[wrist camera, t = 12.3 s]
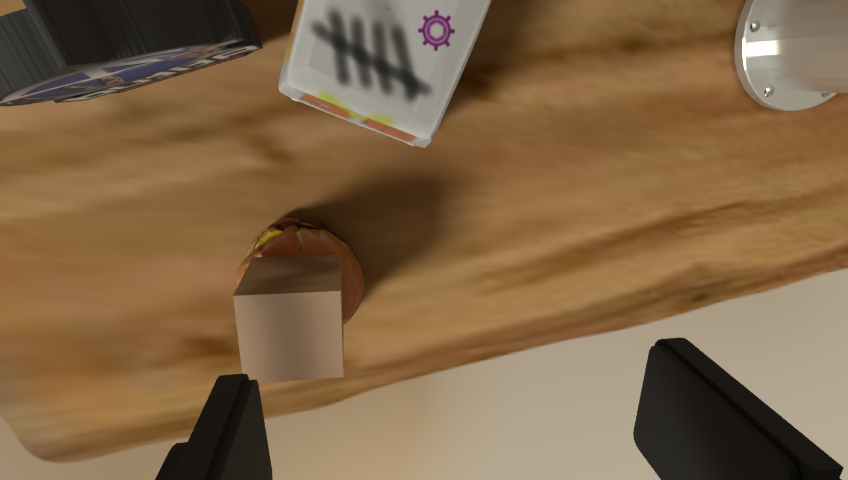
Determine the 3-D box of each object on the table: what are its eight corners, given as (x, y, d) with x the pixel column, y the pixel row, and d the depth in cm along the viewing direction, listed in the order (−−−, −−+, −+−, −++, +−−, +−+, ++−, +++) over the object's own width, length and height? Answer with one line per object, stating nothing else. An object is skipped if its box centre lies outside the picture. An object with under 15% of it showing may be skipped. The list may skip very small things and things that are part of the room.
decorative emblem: (253, 10, 30) (177, -47, 16) (268, 48, 31) (207, 25, 17) (77, 61, 30) (-158, 47, 16) (97, 99, 30) (-109, 117, 17)
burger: (333, 338, 40) (332, 370, 35) (226, 302, 37) (210, 332, 33) (381, 241, 37) (386, 262, 33) (271, 195, 35) (260, 211, 30)
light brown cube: (340, 254, 32) (340, 291, 27) (343, 328, 34) (343, 376, 29) (252, 257, 31) (233, 296, 26) (260, 333, 33) (243, 384, 28)
